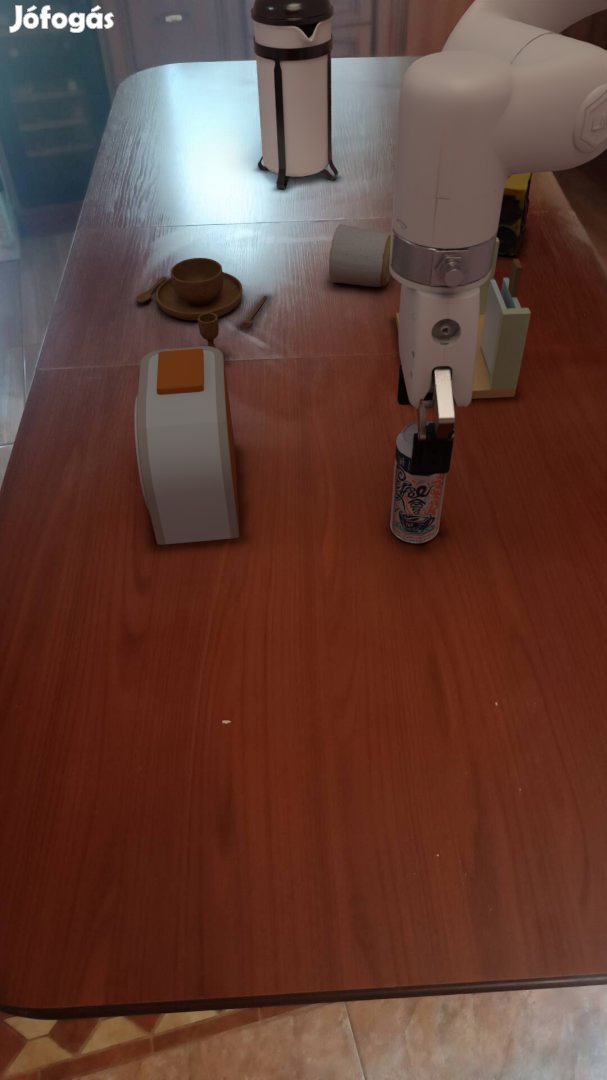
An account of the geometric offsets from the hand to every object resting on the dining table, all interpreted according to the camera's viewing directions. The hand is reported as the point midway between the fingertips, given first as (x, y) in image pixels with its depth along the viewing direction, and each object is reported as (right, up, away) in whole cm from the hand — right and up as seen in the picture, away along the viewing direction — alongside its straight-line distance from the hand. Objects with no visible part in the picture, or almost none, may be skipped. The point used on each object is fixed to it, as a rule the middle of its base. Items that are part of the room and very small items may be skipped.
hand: (421, 435), depth 71 cm
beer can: (+1, -8, +9) cm, 12 cm away
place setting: (-26, +21, +38) cm, 50 cm away
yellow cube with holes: (+18, +36, +51) cm, 65 cm away
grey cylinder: (-2, +28, +44) cm, 53 cm away
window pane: (+13, +13, +26) cm, 32 cm away
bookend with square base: (+8, +14, +29) cm, 34 cm away
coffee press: (-12, +56, +71) cm, 91 cm away
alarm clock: (-22, -4, +14) cm, 26 cm away
